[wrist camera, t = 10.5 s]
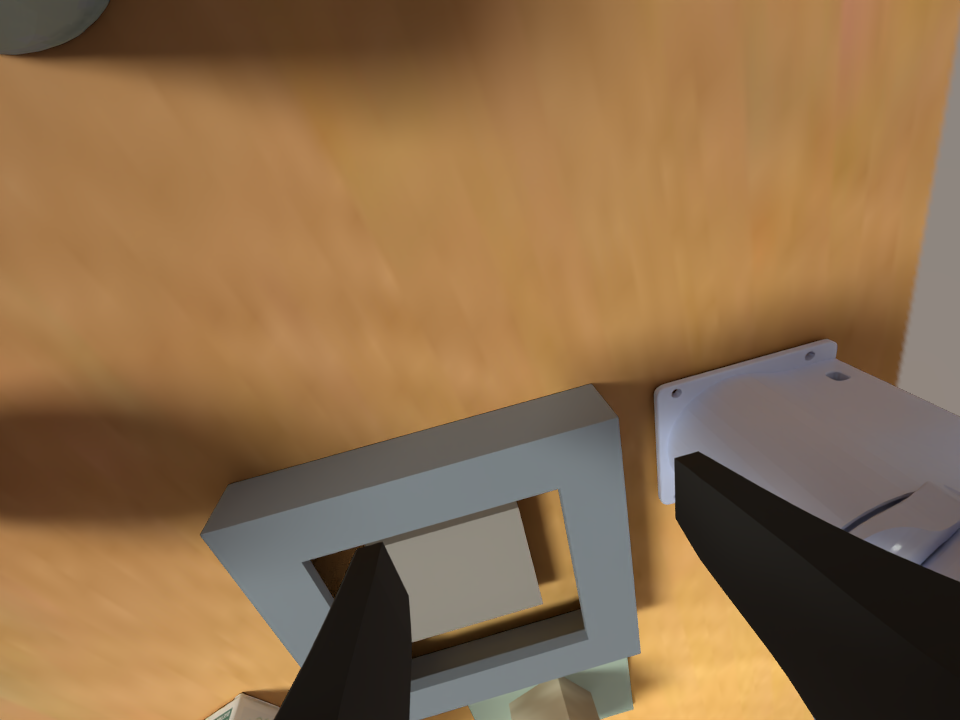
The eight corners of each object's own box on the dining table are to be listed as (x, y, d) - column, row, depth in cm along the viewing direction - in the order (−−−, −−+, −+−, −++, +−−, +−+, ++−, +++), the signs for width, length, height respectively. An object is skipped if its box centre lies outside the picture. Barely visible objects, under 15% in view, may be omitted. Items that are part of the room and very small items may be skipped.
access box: (591, 383, 21) (618, 417, 18) (619, 607, 29) (640, 653, 26) (228, 484, 20) (199, 535, 17) (360, 683, 28) (355, 739, 25)
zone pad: (622, 632, 30) (624, 638, 30) (631, 703, 34) (633, 709, 34) (459, 681, 30) (459, 687, 29) (489, 746, 34) (490, 752, 34)
